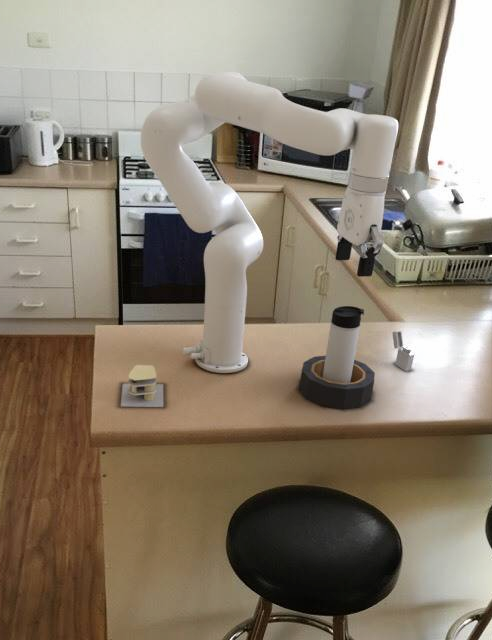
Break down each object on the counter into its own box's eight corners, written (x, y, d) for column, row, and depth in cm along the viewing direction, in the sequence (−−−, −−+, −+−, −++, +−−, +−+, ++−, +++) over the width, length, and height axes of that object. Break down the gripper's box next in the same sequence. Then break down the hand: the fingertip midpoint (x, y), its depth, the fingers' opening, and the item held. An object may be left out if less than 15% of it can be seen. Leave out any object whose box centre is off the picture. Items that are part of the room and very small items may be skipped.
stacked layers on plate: (122, 383, 155) (122, 361, 152) (163, 384, 155) (163, 362, 153) (120, 406, 146) (120, 383, 143) (163, 407, 147) (163, 384, 144)
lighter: (411, 370, 169) (417, 340, 166) (406, 371, 169) (412, 341, 165) (392, 357, 175) (398, 328, 171) (386, 359, 174) (392, 329, 170)
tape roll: (318, 412, 149) (321, 391, 146) (289, 377, 162) (291, 358, 160) (383, 404, 154) (387, 384, 151) (350, 371, 167) (353, 352, 164)
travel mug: (349, 399, 155) (364, 316, 145) (319, 394, 156) (332, 311, 146) (350, 386, 160) (364, 305, 150) (321, 382, 161) (334, 301, 151)
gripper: (331, 173, 141) (318, 254, 150) (372, 195, 127) (356, 283, 136) (363, 173, 144) (350, 253, 152) (407, 194, 130) (389, 281, 138)
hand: (352, 267), depth 144 cm, fingers open, 9 cm apart
